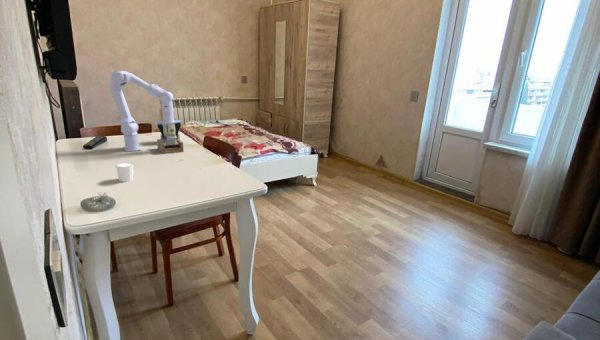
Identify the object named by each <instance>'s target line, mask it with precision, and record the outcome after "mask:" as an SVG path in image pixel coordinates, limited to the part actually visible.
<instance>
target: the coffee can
mask: <svg viewBox="0 0 600 340" xmlns="http://www.w3.org/2000/svg"><path fill="white" fill-rule="evenodd" d="M161 121H163V119H162V120H161ZM166 124H167V123H166ZM163 133H164V135H166V134H174V135H175V138H178V139H179V140H180V139H181V138H180V131H179V132H178V136H176V134H175V124H168V125H163ZM180 141H181V140H180Z"/></svg>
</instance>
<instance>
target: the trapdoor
mask: <svg viewBox="0 0 600 340" xmlns="http://www.w3.org/2000/svg"><path fill="white" fill-rule="evenodd" d="M166 135H174V134H166ZM166 135H164V138H163V137H162V135H161V134H160V138H159V139H160V141H161V142H162V143H163V144H164V146H174V145H167V143H166ZM174 137H175V135H174ZM175 145H179V143H178V142H177V140H176V139H175Z"/></svg>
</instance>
